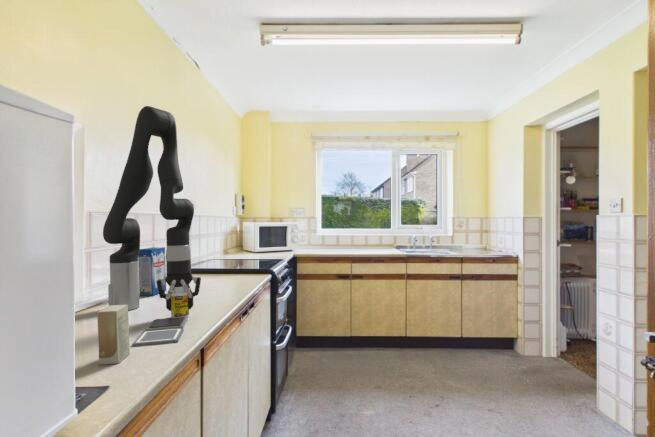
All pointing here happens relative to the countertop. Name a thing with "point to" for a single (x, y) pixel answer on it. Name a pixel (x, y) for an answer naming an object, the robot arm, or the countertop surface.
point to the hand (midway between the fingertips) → (180, 309)
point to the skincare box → (113, 334)
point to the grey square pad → (158, 337)
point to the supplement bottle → (179, 303)
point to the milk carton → (151, 270)
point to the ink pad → (167, 324)
